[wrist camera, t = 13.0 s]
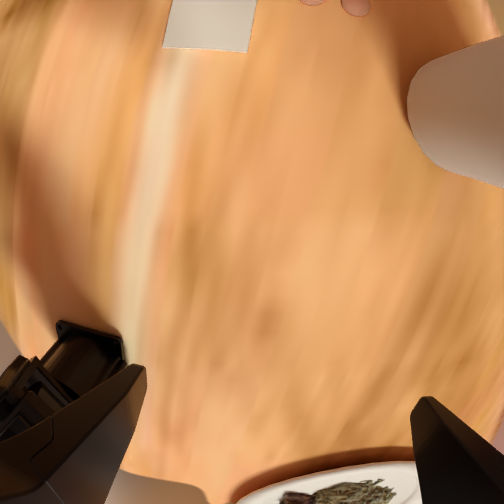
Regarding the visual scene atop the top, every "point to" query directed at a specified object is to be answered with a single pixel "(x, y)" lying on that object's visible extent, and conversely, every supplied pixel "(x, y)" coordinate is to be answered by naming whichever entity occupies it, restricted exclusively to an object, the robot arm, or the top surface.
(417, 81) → the can
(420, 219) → the top surface
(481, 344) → the top surface
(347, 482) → the plated food
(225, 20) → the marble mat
